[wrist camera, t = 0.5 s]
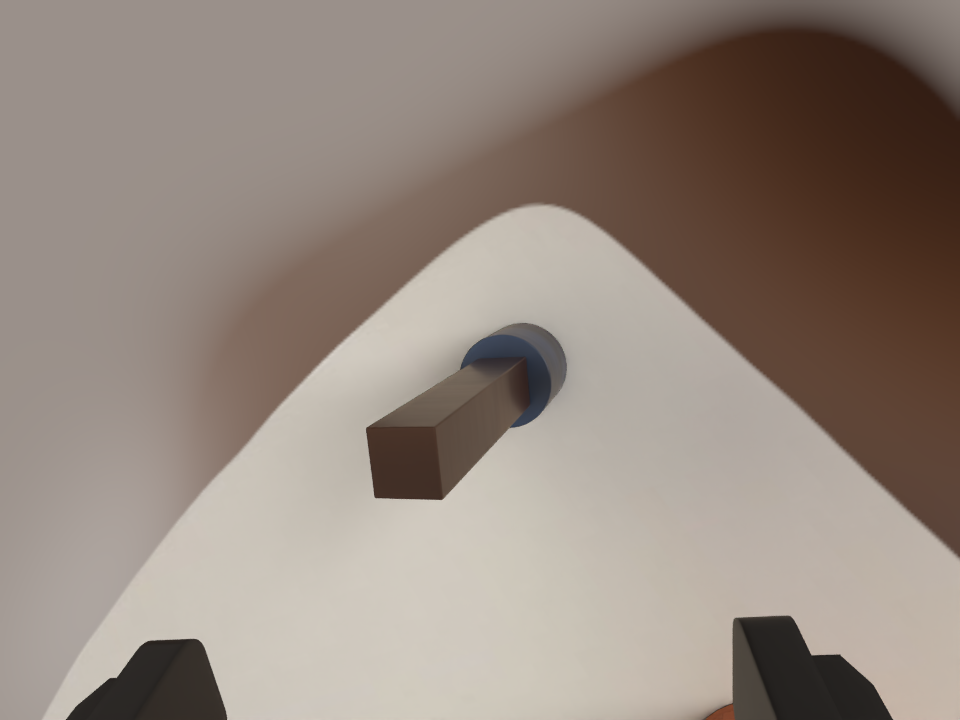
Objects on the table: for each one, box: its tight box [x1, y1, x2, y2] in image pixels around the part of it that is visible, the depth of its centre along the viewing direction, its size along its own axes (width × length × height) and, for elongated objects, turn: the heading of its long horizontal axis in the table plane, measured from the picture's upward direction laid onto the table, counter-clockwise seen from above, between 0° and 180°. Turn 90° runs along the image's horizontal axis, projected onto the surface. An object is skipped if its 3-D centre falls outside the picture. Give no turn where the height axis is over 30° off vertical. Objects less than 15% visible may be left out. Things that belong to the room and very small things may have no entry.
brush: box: [366, 323, 566, 500], centre depth 29 cm, size 5×5×16 cm
